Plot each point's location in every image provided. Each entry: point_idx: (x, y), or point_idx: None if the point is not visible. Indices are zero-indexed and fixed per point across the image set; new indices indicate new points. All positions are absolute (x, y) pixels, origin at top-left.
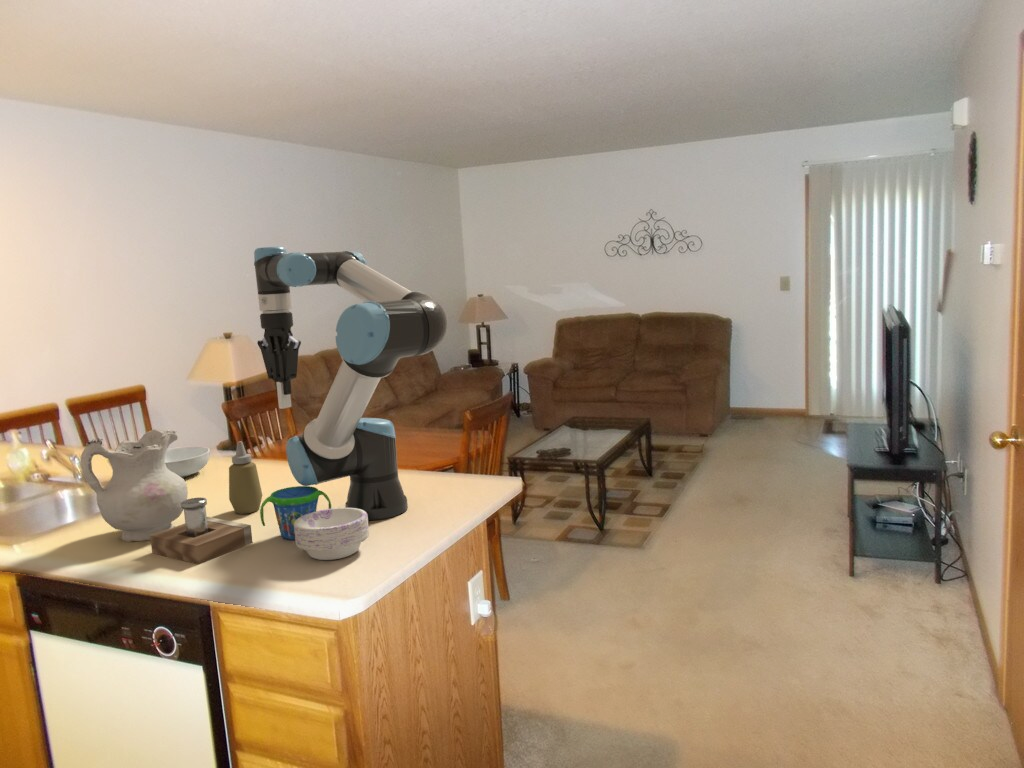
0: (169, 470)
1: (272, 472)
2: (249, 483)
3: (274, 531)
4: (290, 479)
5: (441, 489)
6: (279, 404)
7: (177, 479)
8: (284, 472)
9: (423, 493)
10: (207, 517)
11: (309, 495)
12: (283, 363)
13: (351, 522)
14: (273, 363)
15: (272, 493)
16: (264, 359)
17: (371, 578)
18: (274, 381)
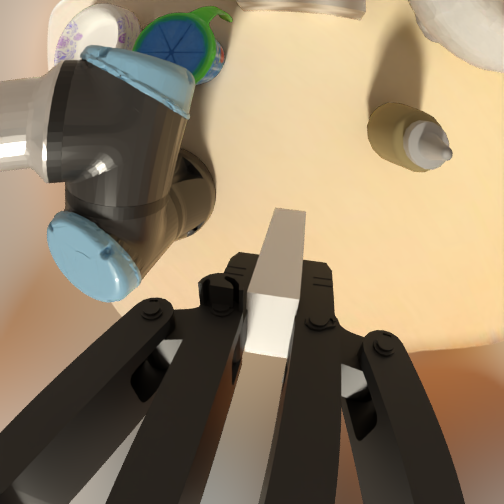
0: (480, 19)
1: (457, 311)
2: (381, 120)
3: (252, 56)
4: (419, 293)
5: (167, 291)
6: (297, 218)
7: (448, 8)
8: (441, 316)
9: (174, 273)
10: (353, 7)
11: None
12: (142, 436)
13: (56, 53)
14: (304, 468)
15: (203, 25)
16: (448, 495)
17: (55, 41)
18: (326, 310)
